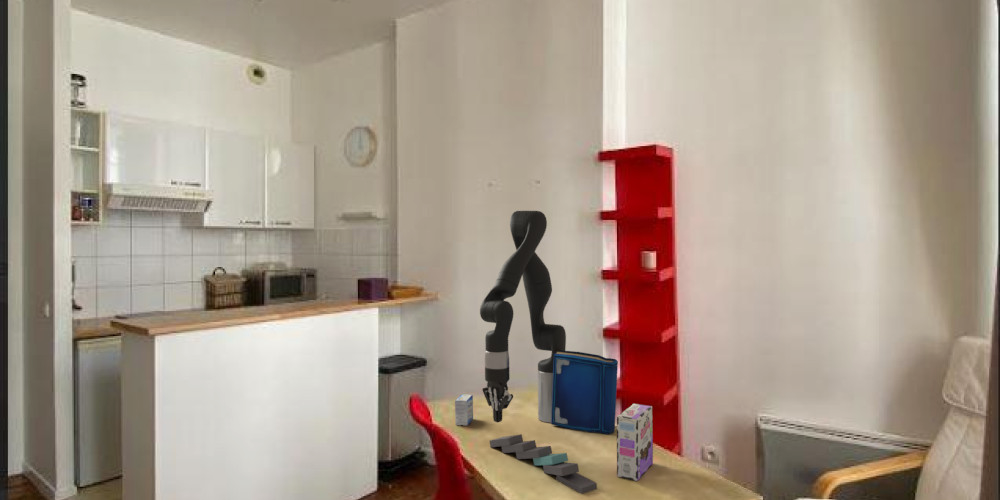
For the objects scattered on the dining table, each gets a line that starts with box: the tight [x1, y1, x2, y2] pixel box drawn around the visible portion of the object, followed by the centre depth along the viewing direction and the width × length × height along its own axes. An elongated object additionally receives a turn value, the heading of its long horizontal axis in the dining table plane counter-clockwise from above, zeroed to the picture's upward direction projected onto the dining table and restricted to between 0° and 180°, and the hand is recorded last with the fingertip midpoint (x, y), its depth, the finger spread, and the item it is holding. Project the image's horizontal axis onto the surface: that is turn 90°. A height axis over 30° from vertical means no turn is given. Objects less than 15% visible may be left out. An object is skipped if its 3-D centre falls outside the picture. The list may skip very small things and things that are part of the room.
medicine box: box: [454, 394, 474, 427], centre depth 195 cm, size 8×4×9 cm, turn 168°
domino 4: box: [532, 452, 569, 466], centre depth 154 cm, size 5×2×10 cm
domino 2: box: [500, 439, 537, 454], centre depth 164 cm, size 5×2×10 cm
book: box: [550, 350, 619, 435], centre depth 187 cm, size 22×7×25 cm, turn 63°
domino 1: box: [489, 434, 524, 448], centre depth 169 cm, size 5×2×10 cm
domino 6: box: [555, 472, 598, 495], centre depth 145 cm, size 5×2×10 cm
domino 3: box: [515, 445, 553, 460], centre depth 159 cm, size 5×2×10 cm
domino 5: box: [542, 461, 580, 476], centre depth 149 cm, size 5×2×10 cm
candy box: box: [616, 403, 654, 482], centre depth 153 cm, size 14×6×16 cm, turn 148°
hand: (497, 421), depth 172 cm, fingers closed
